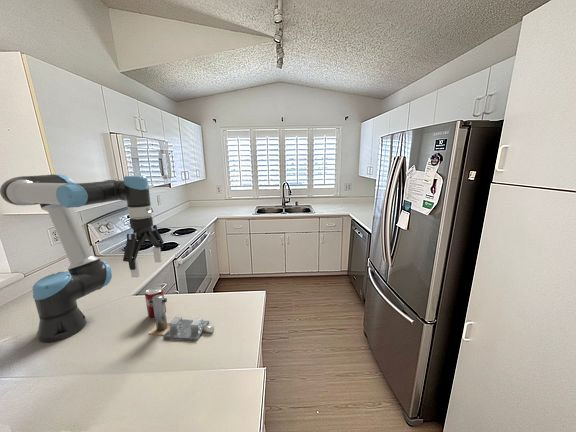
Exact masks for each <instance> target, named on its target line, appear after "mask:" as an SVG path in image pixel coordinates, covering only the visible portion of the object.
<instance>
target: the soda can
mask: <svg viewBox="0 0 576 432" xmlns="http://www.w3.org/2000/svg"><path fill="white" fill-rule="evenodd" d="M156 295H163V298H165V292H164V289H163V287H161V286H154V287H150V288H149V289H146V291H145V292H144V298H145V303H146V304H145V305H146V310H147V311H146V312H147V317H148V318H149V319H151V320H155V315H154V309H153V303H149V300H150V299H152V297H154V296H156ZM164 306H165V313H167V306H166V303H164Z"/></svg>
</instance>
